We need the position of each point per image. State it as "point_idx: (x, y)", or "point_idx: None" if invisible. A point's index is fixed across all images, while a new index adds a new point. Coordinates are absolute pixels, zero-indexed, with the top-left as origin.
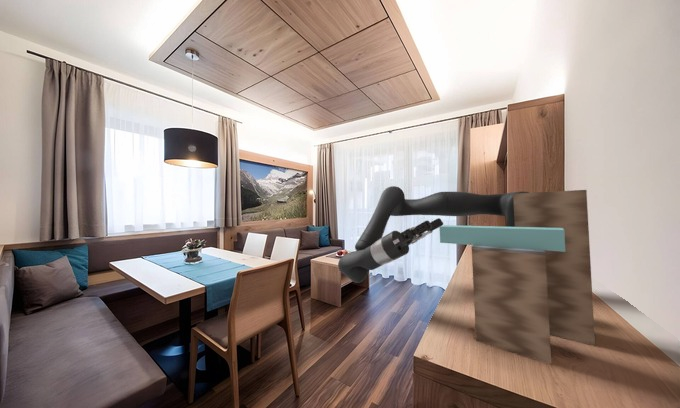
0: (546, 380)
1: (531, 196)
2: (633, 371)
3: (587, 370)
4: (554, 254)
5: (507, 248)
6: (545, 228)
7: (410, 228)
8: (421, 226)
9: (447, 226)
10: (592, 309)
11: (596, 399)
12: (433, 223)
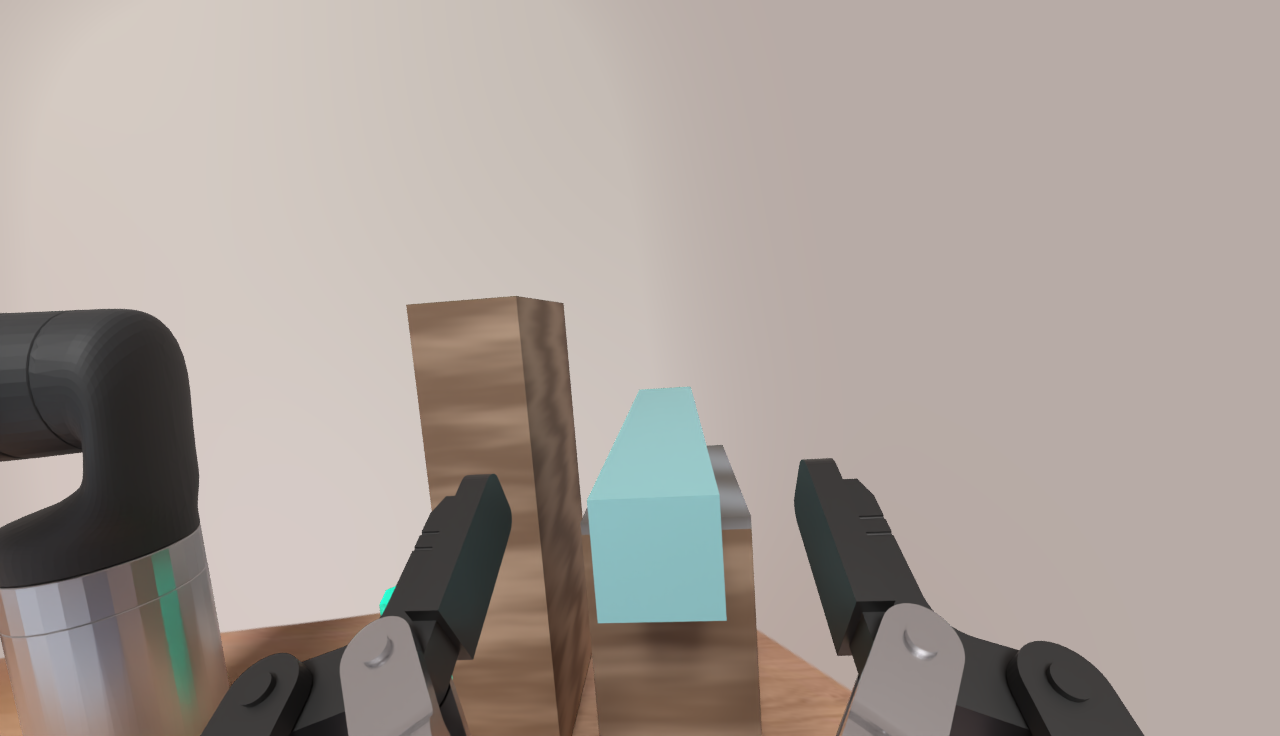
0: (810, 714)
1: (534, 311)
2: None
3: None
4: (562, 479)
5: (717, 471)
6: (663, 393)
7: (855, 721)
8: (882, 533)
9: (689, 476)
10: None
11: (794, 659)
12: (476, 553)
